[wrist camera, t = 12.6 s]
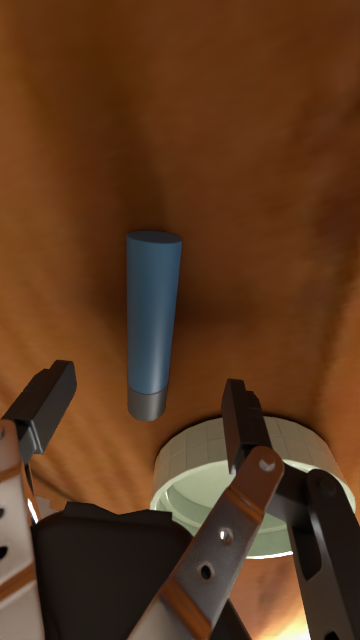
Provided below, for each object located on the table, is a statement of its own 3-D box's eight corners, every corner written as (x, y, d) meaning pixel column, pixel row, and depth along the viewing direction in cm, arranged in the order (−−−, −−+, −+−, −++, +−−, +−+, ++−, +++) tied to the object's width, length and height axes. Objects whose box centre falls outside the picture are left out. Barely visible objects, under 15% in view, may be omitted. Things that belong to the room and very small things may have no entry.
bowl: (160, 402, 23) (154, 447, 19) (363, 422, 24) (397, 470, 20) (151, 506, 33) (146, 550, 29) (297, 519, 33) (311, 565, 29)
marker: (146, 228, 16) (114, 234, 14) (191, 237, 15) (165, 246, 13) (141, 386, 23) (119, 410, 21) (172, 400, 22) (153, 427, 20)
